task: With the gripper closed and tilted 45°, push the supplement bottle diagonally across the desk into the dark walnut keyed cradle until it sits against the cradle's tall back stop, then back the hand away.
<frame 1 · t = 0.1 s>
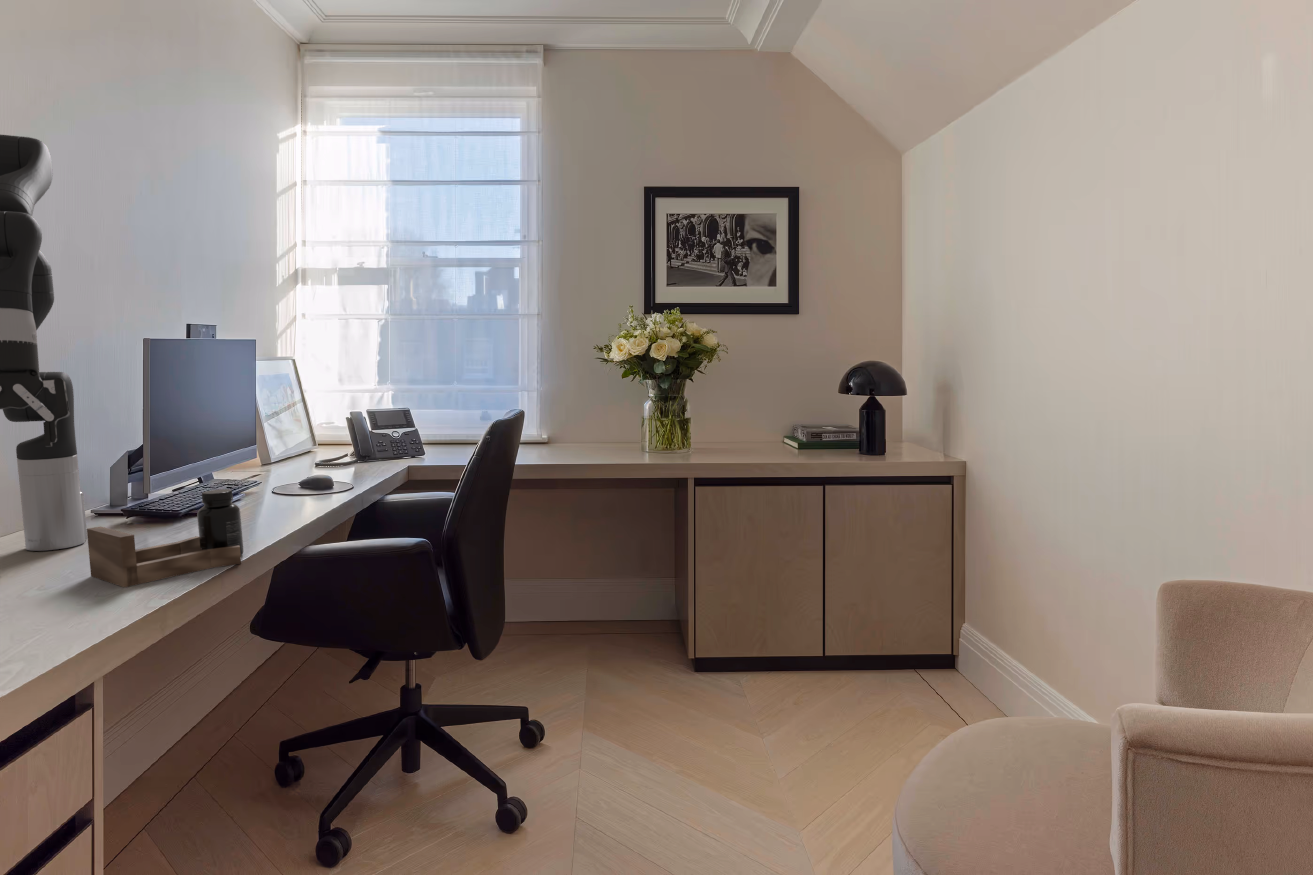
hand: (13, 448, 124), 22 cm above the table, tool pointing down, fingers open, 8 cm apart
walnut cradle: (150, 572, 137), on the table
supplement bottle: (222, 558, 147), on the table
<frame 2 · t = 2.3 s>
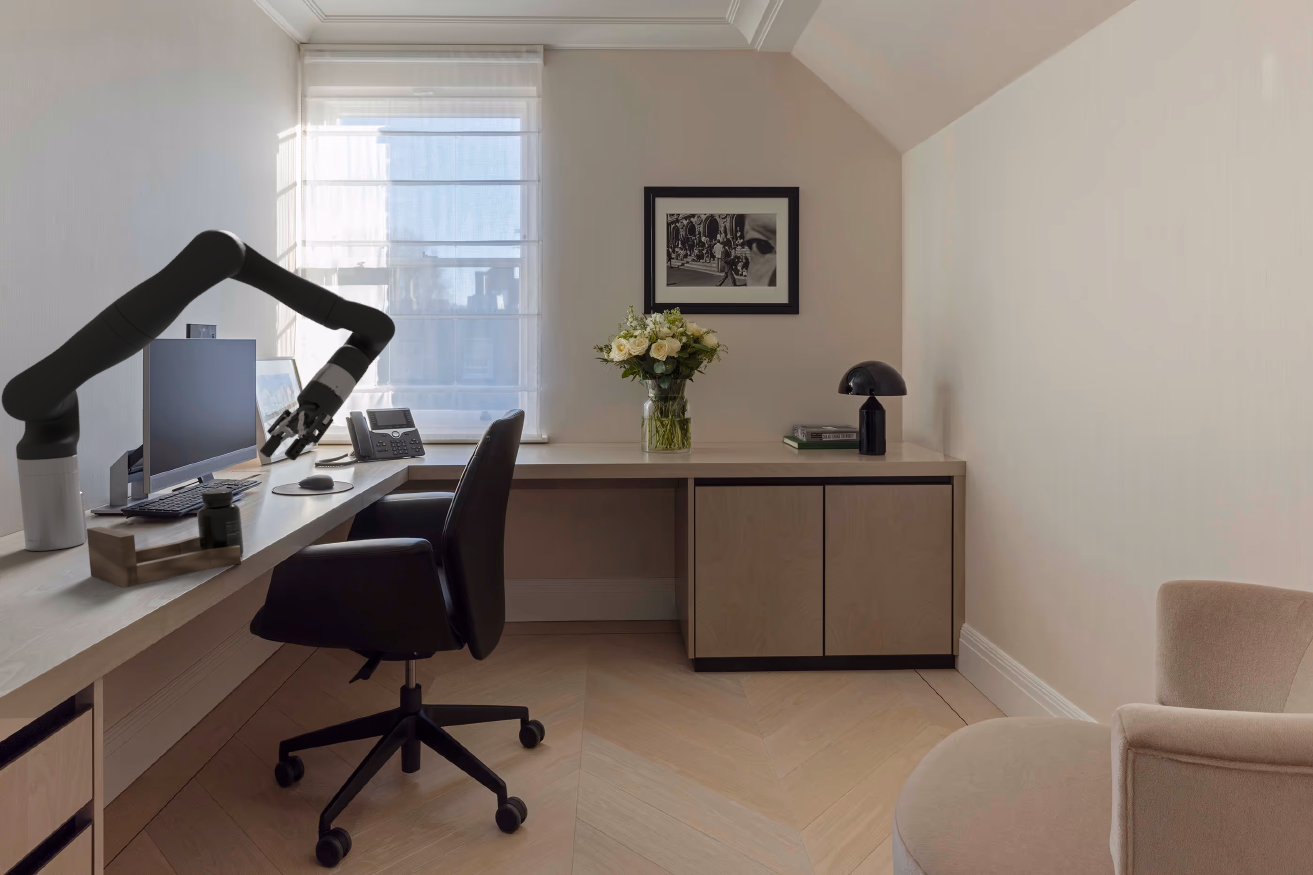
hand: (276, 456, 154), 17 cm above the table, tool tilted 45°, fingers open, 8 cm apart
nothing on the table moved.
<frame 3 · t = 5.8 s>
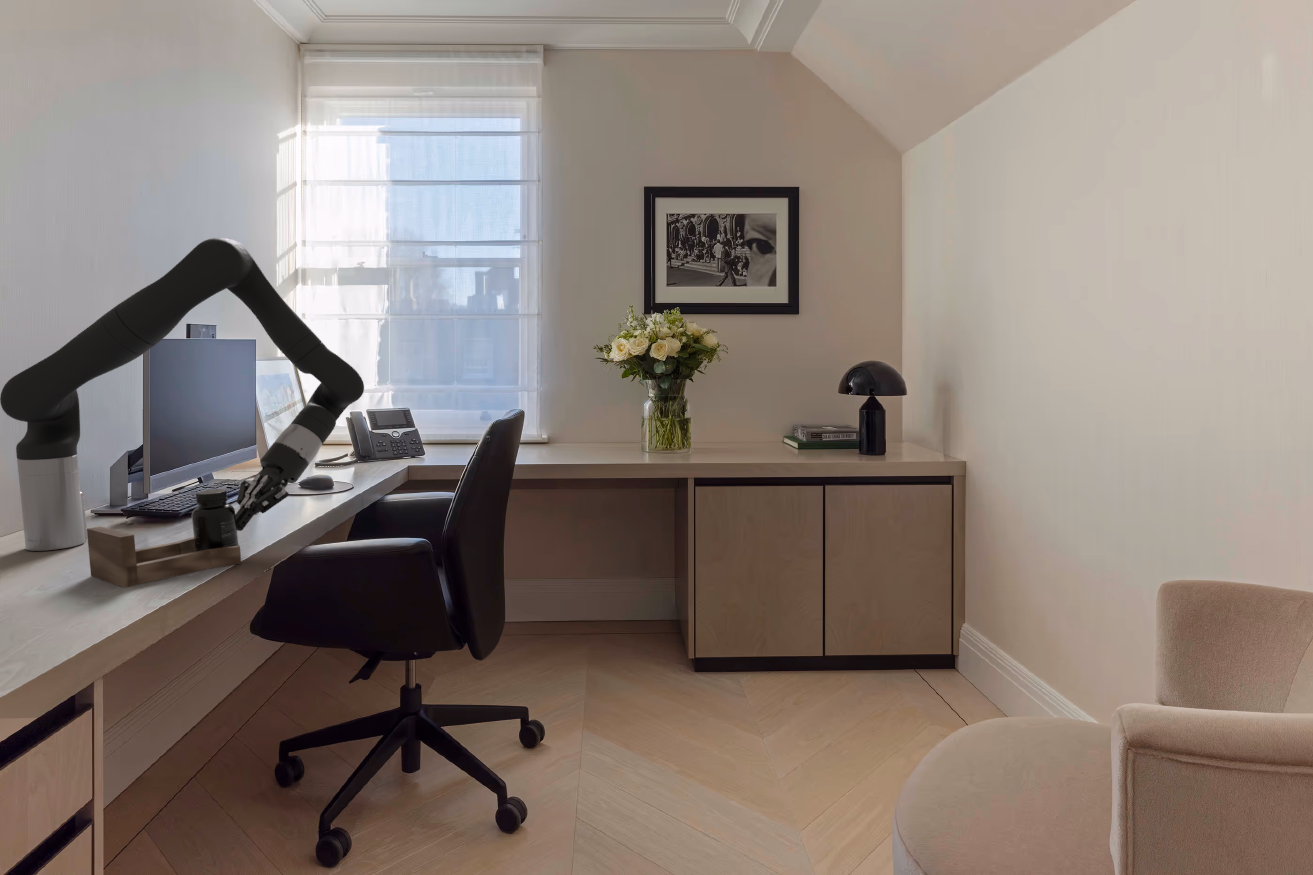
hand: (234, 528, 149), 5 cm above the table, tool tilted 45°, fingers closed
supplement bottle: (217, 558, 146), on the table, touching gripper
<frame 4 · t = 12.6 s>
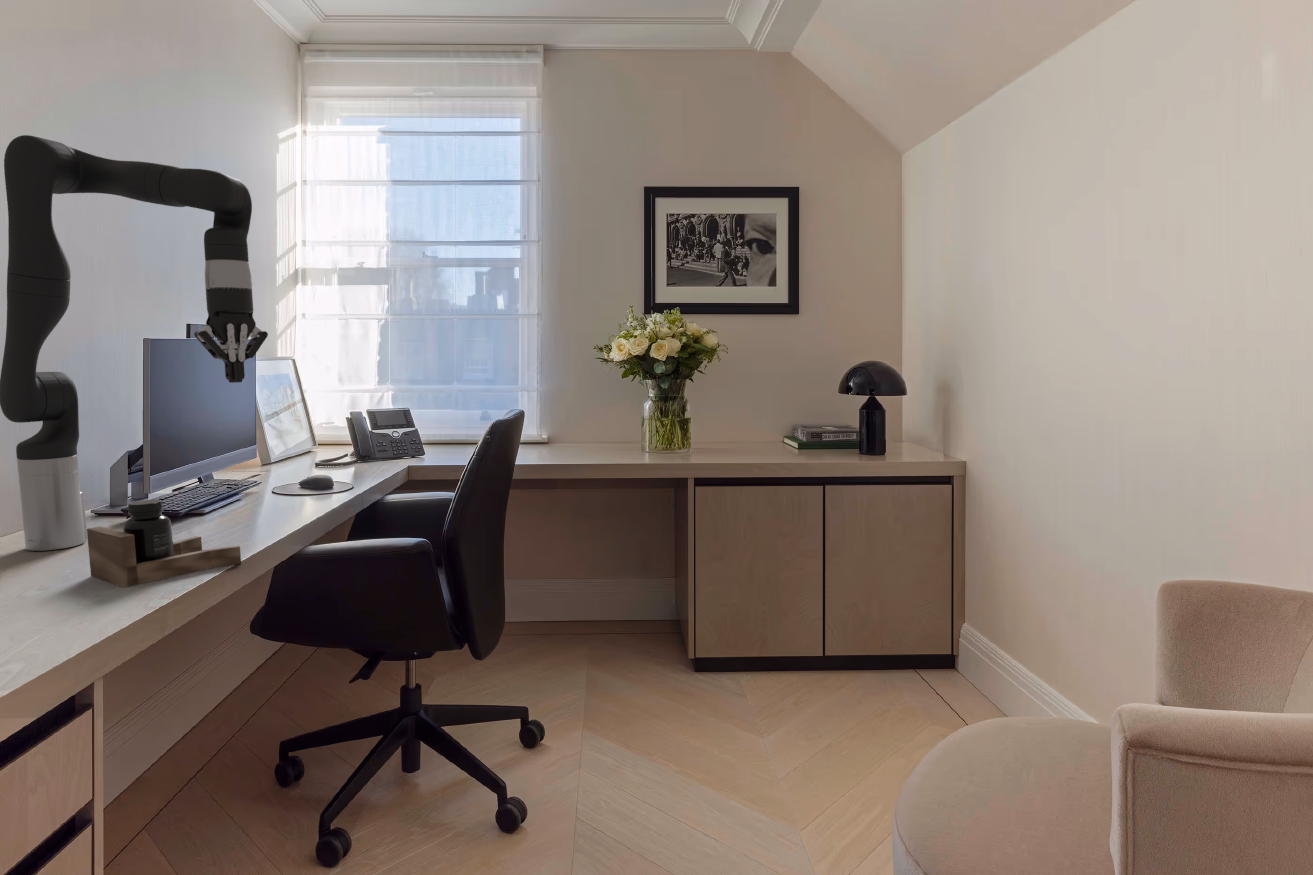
hand: (235, 382, 151), 31 cm above the table, tool pointing down, fingers closed
supplement bottle: (151, 573, 137), on the table
at the end: supplement bottle 0.2 cm from the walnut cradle (horizontally); supplement bottle tilted 0° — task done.
